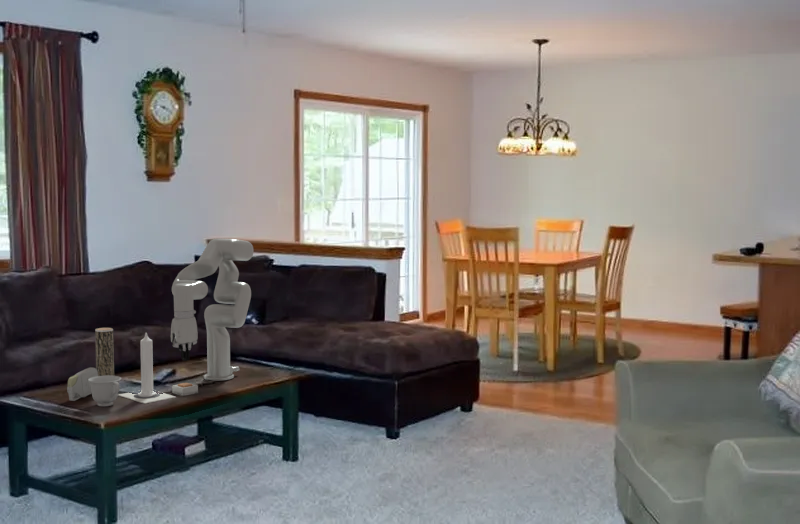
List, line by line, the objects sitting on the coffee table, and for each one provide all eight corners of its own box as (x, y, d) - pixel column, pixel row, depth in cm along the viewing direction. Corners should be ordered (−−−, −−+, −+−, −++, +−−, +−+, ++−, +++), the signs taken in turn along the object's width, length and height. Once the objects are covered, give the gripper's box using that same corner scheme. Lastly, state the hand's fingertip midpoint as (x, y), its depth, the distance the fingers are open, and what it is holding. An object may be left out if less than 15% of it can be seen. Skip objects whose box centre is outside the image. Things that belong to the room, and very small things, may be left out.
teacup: (104, 411, 360) (103, 384, 359) (82, 404, 370) (81, 378, 369) (132, 405, 369) (132, 379, 368) (110, 399, 379) (109, 373, 378)
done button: (186, 387, 393) (186, 382, 393) (192, 389, 390) (192, 384, 390) (177, 389, 390) (177, 384, 390) (183, 390, 387) (183, 385, 387)
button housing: (187, 390, 395) (187, 382, 395) (198, 392, 390) (197, 385, 390) (172, 393, 390) (172, 385, 390) (182, 395, 385) (182, 388, 385)
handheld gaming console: (68, 405, 377) (95, 392, 391) (74, 406, 376) (100, 393, 389) (65, 378, 375) (91, 365, 388) (70, 379, 374) (97, 366, 387)
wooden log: (114, 388, 398) (113, 327, 395) (114, 392, 391) (112, 330, 388) (97, 389, 396) (95, 328, 393) (96, 393, 389) (94, 330, 387)
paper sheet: (149, 389, 395) (148, 388, 395) (175, 397, 382) (175, 396, 382) (117, 395, 385) (117, 394, 385) (144, 403, 372) (144, 402, 372)
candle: (151, 397, 380) (150, 334, 377) (134, 396, 381) (133, 333, 379) (159, 393, 387) (158, 331, 384) (143, 392, 388) (141, 330, 386)
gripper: (194, 311, 395) (195, 355, 398) (162, 316, 384) (164, 361, 387) (205, 313, 390) (206, 358, 392) (173, 318, 379) (174, 364, 382)
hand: (185, 359), depth 390 cm, fingers closed
